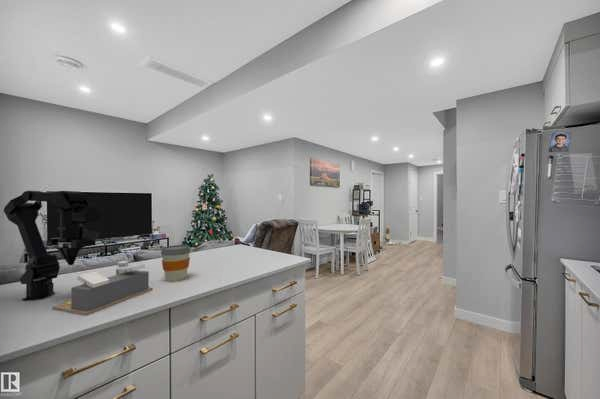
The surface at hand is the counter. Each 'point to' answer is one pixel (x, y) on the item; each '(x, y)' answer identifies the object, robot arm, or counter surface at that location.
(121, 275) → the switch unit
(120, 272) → the rocker
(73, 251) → the robot arm
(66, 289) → the counter surface
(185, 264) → the reusable coffee cup
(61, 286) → the counter surface
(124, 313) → the counter surface
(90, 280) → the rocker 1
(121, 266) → the supplement bottle
